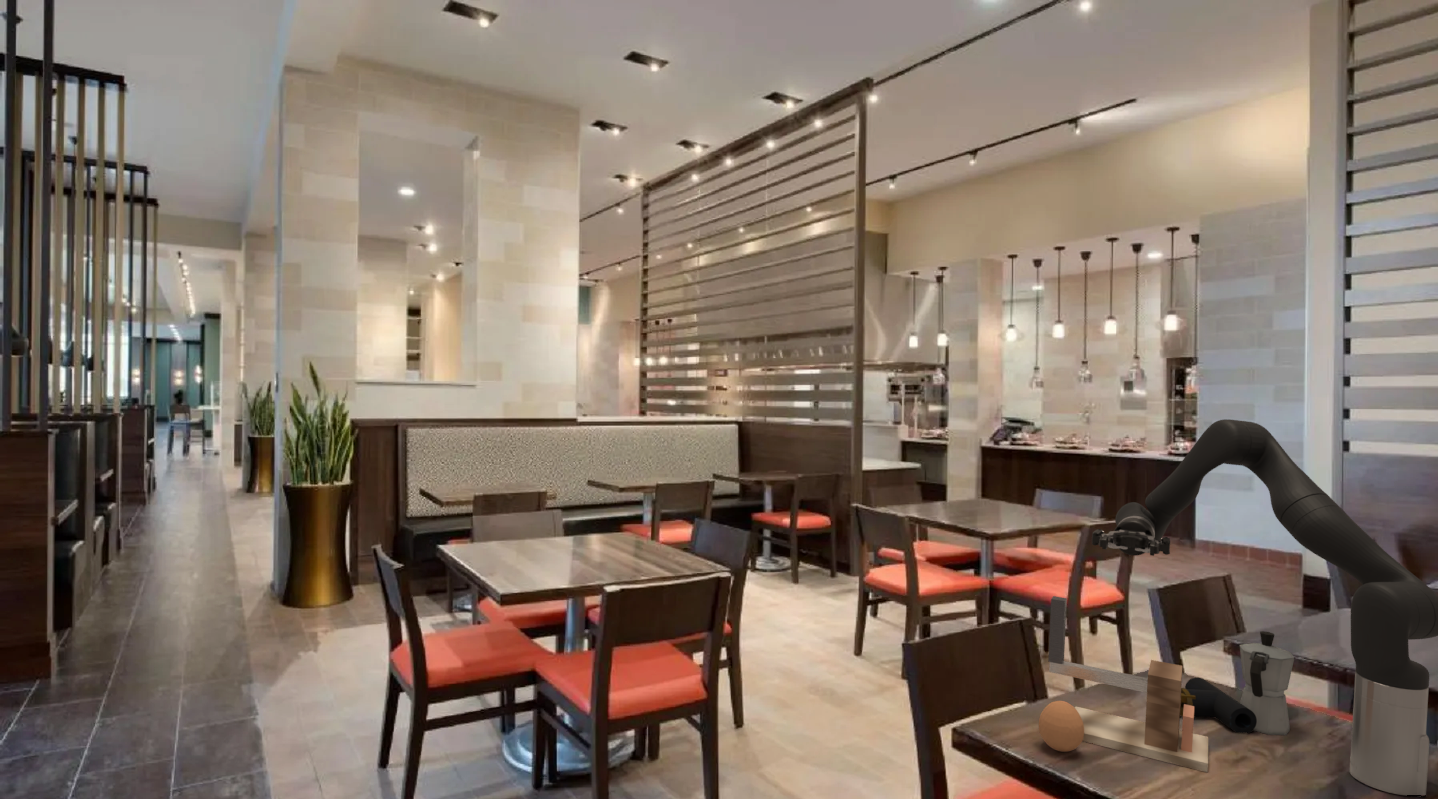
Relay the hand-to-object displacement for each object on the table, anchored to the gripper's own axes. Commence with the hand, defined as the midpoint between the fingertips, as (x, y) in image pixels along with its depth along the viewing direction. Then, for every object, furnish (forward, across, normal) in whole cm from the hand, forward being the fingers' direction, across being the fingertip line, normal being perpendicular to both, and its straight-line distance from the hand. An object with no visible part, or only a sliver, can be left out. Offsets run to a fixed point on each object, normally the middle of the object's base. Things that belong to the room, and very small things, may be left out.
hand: (1127, 547), depth 158 cm
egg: (+28, -7, +32) cm, 43 cm away
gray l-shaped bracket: (+16, -2, +23) cm, 28 cm away
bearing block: (+16, +4, +32) cm, 36 cm away
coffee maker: (-5, +24, +32) cm, 40 cm away
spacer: (+16, +12, +30) cm, 36 cm away
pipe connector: (-5, +14, +32) cm, 36 cm away
